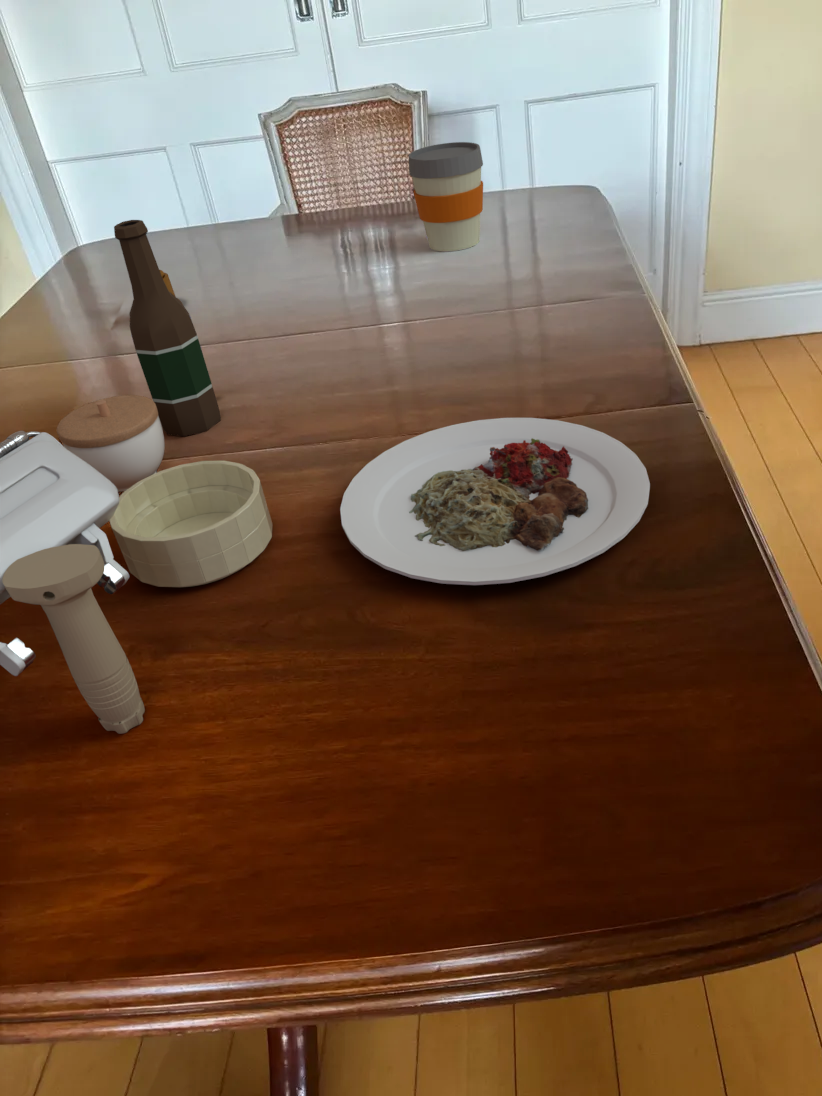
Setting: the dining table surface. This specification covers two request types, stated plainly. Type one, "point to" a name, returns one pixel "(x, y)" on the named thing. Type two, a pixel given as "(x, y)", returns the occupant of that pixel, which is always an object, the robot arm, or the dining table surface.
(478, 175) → the reusable coffee cup
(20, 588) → the handle
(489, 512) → the plated food
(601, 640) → the dining table surface
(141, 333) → the beer bottle
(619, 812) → the dining table surface
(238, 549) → the bowl
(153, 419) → the trinket box
